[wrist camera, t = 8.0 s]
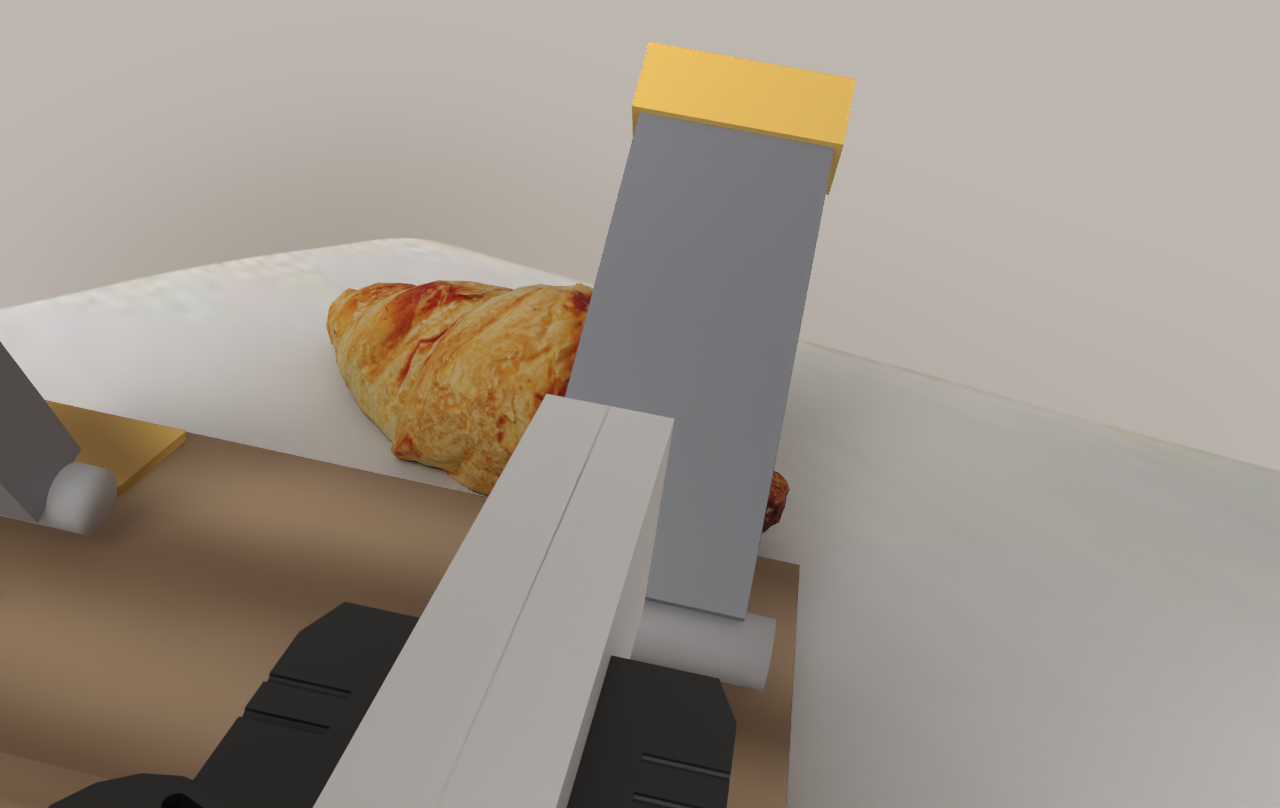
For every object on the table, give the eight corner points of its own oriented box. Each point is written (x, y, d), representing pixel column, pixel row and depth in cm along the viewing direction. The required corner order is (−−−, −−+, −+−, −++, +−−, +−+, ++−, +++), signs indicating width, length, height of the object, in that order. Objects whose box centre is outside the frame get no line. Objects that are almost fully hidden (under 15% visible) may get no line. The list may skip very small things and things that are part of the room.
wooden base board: (746, 1047, 20) (782, 933, 19) (-389, 757, 22) (-438, 633, 21) (777, 649, 31) (801, 556, 30) (8, 477, 33) (-5, 381, 31)
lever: (767, 686, 22) (875, 82, 27) (471, 619, 23) (630, 38, 28) (756, 695, 25) (857, 136, 30) (487, 634, 25) (631, 94, 30)
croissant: (278, 441, 44) (187, 301, 38) (438, 287, 49) (379, 141, 43) (714, 683, 34) (683, 545, 28) (861, 460, 39) (862, 302, 33)
